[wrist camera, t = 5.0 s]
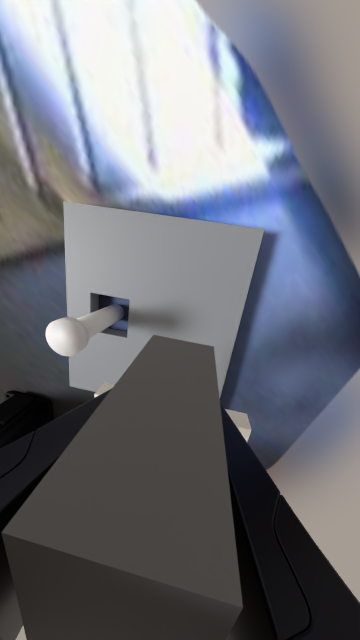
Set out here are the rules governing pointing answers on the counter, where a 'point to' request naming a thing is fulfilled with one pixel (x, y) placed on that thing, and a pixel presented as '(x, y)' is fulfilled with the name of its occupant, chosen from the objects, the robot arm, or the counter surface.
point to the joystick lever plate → (135, 513)
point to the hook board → (149, 287)
